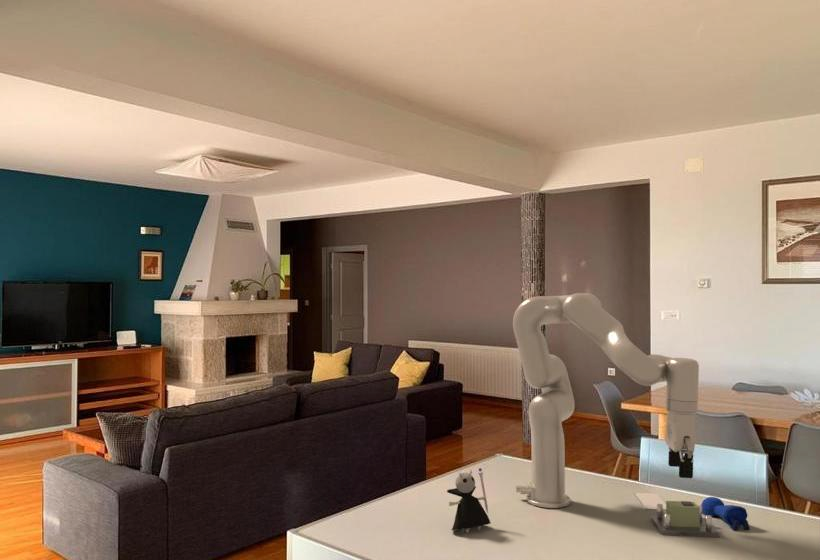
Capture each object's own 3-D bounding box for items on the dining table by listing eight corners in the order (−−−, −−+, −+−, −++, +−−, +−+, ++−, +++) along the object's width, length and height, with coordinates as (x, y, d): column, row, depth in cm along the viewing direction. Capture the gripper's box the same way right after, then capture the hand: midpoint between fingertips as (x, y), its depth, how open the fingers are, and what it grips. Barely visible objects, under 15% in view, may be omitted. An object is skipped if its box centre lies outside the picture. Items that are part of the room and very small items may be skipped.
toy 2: (753, 532, 162) (717, 510, 177) (754, 508, 162) (717, 488, 177) (729, 534, 161) (694, 511, 176) (729, 510, 161) (695, 489, 176)
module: (671, 526, 161) (670, 505, 162) (666, 519, 166) (666, 499, 166) (699, 527, 160) (699, 506, 161) (694, 521, 165) (694, 500, 165)
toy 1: (460, 535, 156) (450, 472, 161) (447, 535, 162) (438, 474, 166) (499, 527, 162) (489, 466, 166) (485, 526, 167) (475, 468, 172)
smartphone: (645, 509, 177) (633, 492, 192) (645, 511, 177) (633, 494, 192) (671, 510, 176) (657, 493, 191) (671, 512, 176) (657, 494, 191)
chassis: (660, 534, 159) (660, 515, 159) (650, 520, 169) (650, 502, 169) (719, 537, 157) (718, 518, 157) (705, 522, 167) (705, 504, 167)
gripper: (658, 399, 173) (656, 461, 173) (676, 412, 156) (674, 481, 156) (687, 400, 172) (685, 463, 172) (708, 413, 155) (706, 483, 155)
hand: (680, 471), depth 164 cm, fingers open, 9 cm apart
